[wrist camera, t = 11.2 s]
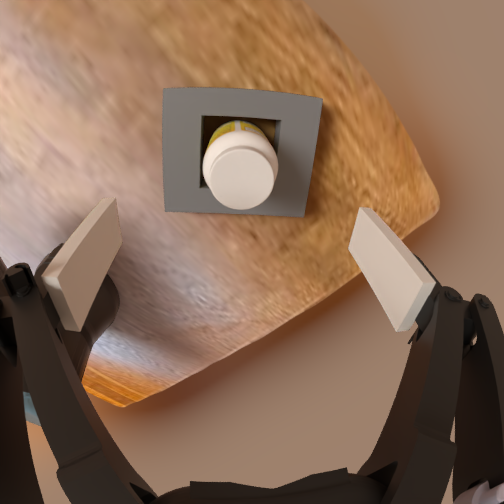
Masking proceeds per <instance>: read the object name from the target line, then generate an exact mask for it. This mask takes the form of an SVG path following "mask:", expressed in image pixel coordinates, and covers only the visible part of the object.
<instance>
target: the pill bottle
mask: <svg viewBox="0 0 504 504" xmlns="http://www.w3.org/2000/svg"><path fill="white" fill-rule="evenodd" d="M277 173H278V160H277V156H276V153H275V151H274V149H273V147H272V146H271V144H270V143H269V141H268V139H267V138H266V136H265V135H264V133H263V132H262V131H261V130H260V129H259V128H258V127H257V126H256V125H254V124H253V123H250V122H248V121H244V120H233V121H229V122H227V123H224V124H223V125H221V126H220V127H219V128H217V130H216V131H215V132H214V133H213V135H212V137H211V139H210V142H209V144H208V147H207V150H206V153H205V156H204V160H203V175H204V178H205V181H206V183H207V185H208V187H209V188H210V189H211V191H212V193H213V195H214V197H215V198H216V199H217V200H218V201H219V202H220V203H222V204H223V205H225V206H227V207H229V208H232V209H238V210H244V209H250V208H253V207H256V206H258V205H260V204H261V203H262V202H264V201H265V200H266V199H267V198H268V196H269V195H270V193H271V191H272V189H273V186H274V182H275V180H276V177H277Z"/></svg>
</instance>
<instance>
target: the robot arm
mask: <svg viewBox="0 0 504 504" xmlns="http://www.w3.org/2000/svg"><path fill="white" fill-rule="evenodd" d="M122 243H123V242H122V237H121V231H120V224H119V218H118V211H117V204H116V198H103V199H102V200H101V201H100V202H99V203H98V204H97V205H96V206H95V208H94V209H93V210H92V211H91V212H90V213H89V215H88V216H87V217H86V218H85V219H84V220H83V222H82V223H81V224H80V225H79V226H78V228H77V229H76V230H75V231H74V233H73V234H72V235H71V236H70V238H69V239H68V240H67V241H66V243H65V244H64V243H62V244H60V245H59V246H58V247H56V248H55V249H54V250H53V251H52V252H51V253H50V254H48V255H47V256H46V257H45V258H44V259H43V260H42V262H41V263H40V264H39V266H38V267H37V269H36V272H35V275H34V276H33V274H32V271H31V269H30V267H29V265H28V264H27V263H18V264H15V265H13V266H11V267H10V268H8V269H7V267H6V265H5V264H4V262H3V260H2V259H1V257H0V504H44V501H43V498H42V494H41V491H40V487H39V484H38V480H37V476H36V473H35V468H34V464H33V459H32V455H31V450H30V444H29V439H28V432H27V425H26V421H29V422H31V423H34V424H36V425H39V426H41V427H42V429H43V432H44V434H45V436H46V439H47V441H48V443H49V445H50V448H51V450H52V452H53V454H54V456H55V458H56V460H57V463H58V465H59V469H58V470H57V472H56V473H57V478H58V480H59V483H60V485H61V487H62V489H63V490H64V492H65V494H66V496H67V497H68V499H69V501H70V502H71V504H441V502H442V499H443V496H444V493H445V491H446V488H447V485H448V482H449V478H450V475H451V472H452V469H453V483H452V485H453V486H452V487H453V488H452V489H453V504H504V334H503V331H502V328H501V325H500V322H499V319H498V317H497V314H496V311H495V309H494V306H493V304H492V303H491V302H490V300H489V299H488V298H487V297H486V296H485V295H482V294H475V295H474V297H473V299H472V300H471V302H469V301H465V300H463V298H462V296H461V295H460V294H459V293H458V292H457V291H456V290H454V289H453V288H451V287H447V286H443V287H442V286H441V285H440V283H439V282H438V281H437V279H436V278H435V277H434V275H433V274H432V273H431V272H430V271H429V270H428V268H427V267H426V266H424V263H423V262H422V261H421V260H420V258H419V257H417V256H416V255H414V254H413V253H412V252H410V250H409V249H408V248H407V247H406V246H405V244H404V243H403V242H402V241H401V240H400V239H399V238H398V236H397V235H396V234H395V233H394V232H393V231H392V230H391V229H390V228H389V227H388V225H387V224H386V223H385V222H384V221H383V220H382V219H381V218H380V217H379V216H378V215H377V214H376V213H375V212H374V211H373V210H372V209H371V208H365V207H360V208H359V212H358V215H357V219H356V223H355V226H354V230H353V233H352V237H351V240H350V244H349V247H348V249H349V251H350V253H351V254H352V256H353V258H354V259H355V261H356V262H357V264H358V266H359V267H360V269H361V271H362V272H363V274H364V276H365V277H366V279H367V281H368V282H369V284H370V286H371V287H372V289H373V291H374V293H375V294H376V296H377V298H378V300H379V302H380V303H381V305H382V307H383V309H384V310H385V312H386V314H387V316H388V318H389V320H390V321H391V323H392V325H393V327H394V329H395V331H396V332H401V331H407V330H410V328H411V326H412V325H413V323H414V321H416V323H417V324H418V328H417V329H416V331H415V333H414V334H413V336H412V337H411V339H410V340H409V342H408V344H410V343H411V341H413V342H412V345H411V349H410V353H409V357H408V360H407V363H406V367H405V370H404V373H403V376H402V379H401V382H400V385H399V388H398V391H397V394H396V398H395V400H394V402H393V405H392V408H391V410H390V413H389V416H388V418H387V420H386V423H385V426H384V428H383V430H382V432H381V435H380V437H379V439H378V441H377V444H376V446H375V448H374V450H373V452H372V454H371V456H370V457H369V459H368V460H367V461H366V462H365V463H364V465H363V466H362V467H361V468H360V470H359V471H358V473H357V474H352V473H348V471H347V468H342V469H338V470H333V471H329V472H323V473H318V474H312V475H310V476H307V477H305V478H302V479H300V480H297V481H295V482H292V483H289V484H287V485H284V486H281V487H278V488H274V489H269V488H261V487H254V486H248V485H243V484H237V483H232V482H196V481H190V486H188V487H182V488H179V489H175V490H172V491H170V492H168V493H165V494H163V495H161V496H159V497H158V496H157V495H156V493H155V492H154V491H153V490H152V489H151V488H150V486H149V485H148V484H147V483H146V482H145V481H144V480H143V479H142V477H141V476H140V475H139V474H137V472H136V471H135V470H134V469H133V467H132V466H131V465H130V463H129V462H128V461H127V459H126V458H125V456H124V455H123V454H122V452H121V451H120V449H119V448H118V446H117V445H116V443H115V442H114V440H113V438H112V437H111V435H110V434H109V432H108V430H107V429H106V427H105V426H104V424H103V422H102V421H101V419H100V417H99V415H98V414H97V412H96V410H95V408H94V406H93V405H92V403H91V401H90V399H89V397H88V395H87V393H86V391H85V389H84V387H83V385H82V383H81V382H82V378H83V375H84V371H85V368H86V365H87V362H88V358H89V355H90V352H91V349H92V347H93V344H94V343H95V342H96V341H97V340H98V338H99V337H100V336H101V335H102V334H103V333H104V331H105V330H106V329H107V328H108V327H109V326H110V325H111V324H112V323H113V321H114V319H115V316H116V314H117V311H118V308H119V296H118V292H117V290H116V287H115V285H114V284H113V282H112V280H111V279H110V277H109V276H108V275H107V272H108V270H109V268H110V266H111V264H112V262H113V260H114V258H115V256H116V254H117V252H118V250H119V248H120V246H121V245H122ZM476 335H477V341H476V343H475V345H473V342H472V341H473V339H474V338H475V337H476ZM454 416H455V443H454V442H451V440H450V435H451V430H452V425H453V421H454ZM453 465H454V467H453Z"/></svg>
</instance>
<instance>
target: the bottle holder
mask: <svg viewBox="0 0 504 504" xmlns="http://www.w3.org/2000/svg"><path fill="white" fill-rule="evenodd" d="M322 102H323V99H322V98H317V97H311V96H305V95H298V94H291V93H283V92H274V91H265V90H253V89H238V88H211V87H187V88H164V89H163V113H162V151H163V185H164V204H165V212H197V213H228V214H252V215H272V216H290V217H304V213H305V208H306V202H307V197H308V191H309V186H310V180H311V174H312V168H313V162H314V156H315V149H316V143H317V136H318V130H319V123H320V116H321V109H322ZM204 115H207V116H236V117H252V118H265V119H275V120H276V128H275V137H274V146H273V149H274V151H275V153H276V156H277V160H278V173H277V177H276V180H275V182H274V186H273V189H272V191H271V193H270V195H269V196H268V198H267V199H266V200H265V201H264V202H262V203H261V204H260V205H258V206H256V207H253V208H250V209H244V210H238V209H232V208H229V207H227V206H225V205H223V204H222V203H220V202H219V201H218V200H217V199H216V198H215V197H214V195H213V193H212V191H211V189H210V188H209V187H208V185H207V183H206V181H205V179H202V167H203V135H204Z"/></svg>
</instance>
